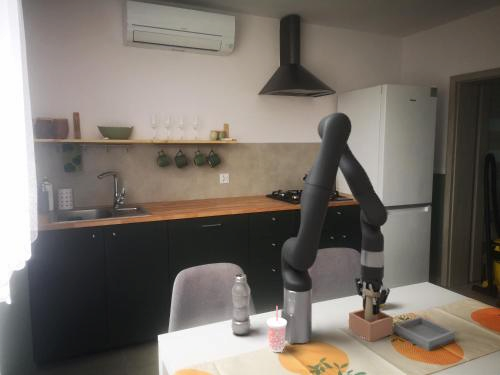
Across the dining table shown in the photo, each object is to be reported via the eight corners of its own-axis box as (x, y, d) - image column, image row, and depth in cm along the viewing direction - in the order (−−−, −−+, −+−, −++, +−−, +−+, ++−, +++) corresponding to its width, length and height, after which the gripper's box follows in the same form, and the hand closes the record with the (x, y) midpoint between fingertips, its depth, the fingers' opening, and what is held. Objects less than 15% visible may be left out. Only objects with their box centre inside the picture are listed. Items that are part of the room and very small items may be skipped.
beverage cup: (274, 342, 120) (274, 300, 119) (290, 348, 116) (290, 305, 115) (263, 349, 115) (263, 306, 114) (279, 356, 111) (279, 312, 110)
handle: (371, 326, 130) (372, 285, 129) (381, 335, 124) (383, 292, 122) (359, 328, 129) (360, 286, 127) (368, 337, 123) (370, 293, 121)
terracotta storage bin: (369, 342, 120) (370, 324, 119) (348, 329, 128) (349, 312, 128) (392, 334, 125) (393, 317, 124) (370, 322, 133) (371, 306, 132)
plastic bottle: (227, 334, 125) (227, 277, 123) (237, 326, 131) (237, 271, 129) (244, 338, 122) (244, 280, 120) (254, 330, 128) (253, 274, 126)
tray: (428, 351, 114) (428, 341, 114) (394, 333, 125) (394, 324, 125) (454, 340, 120) (455, 332, 120) (419, 324, 132) (419, 316, 131)
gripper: (348, 258, 128) (347, 306, 130) (380, 270, 116) (379, 322, 118) (364, 256, 132) (363, 302, 134) (397, 266, 120) (395, 317, 121)
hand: (370, 311), depth 126 cm, fingers closed on handle, 3 cm apart
